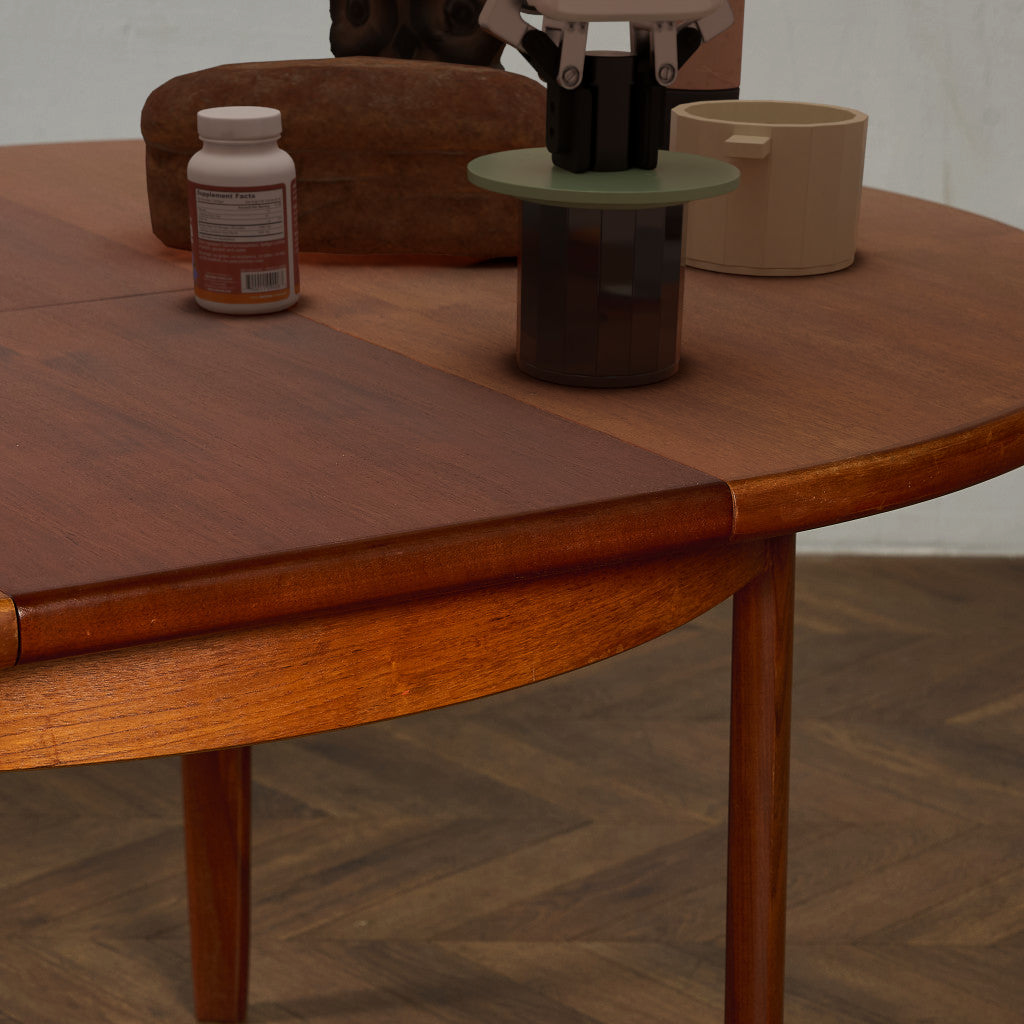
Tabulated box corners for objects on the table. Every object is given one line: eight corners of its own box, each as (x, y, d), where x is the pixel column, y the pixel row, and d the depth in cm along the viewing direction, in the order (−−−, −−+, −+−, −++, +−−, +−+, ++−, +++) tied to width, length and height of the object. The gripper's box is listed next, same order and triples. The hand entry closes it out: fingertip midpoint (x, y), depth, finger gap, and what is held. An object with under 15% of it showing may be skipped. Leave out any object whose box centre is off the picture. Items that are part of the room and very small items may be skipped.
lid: (760, 179, 86) (769, 47, 84) (708, 226, 74) (718, 74, 71) (514, 162, 90) (516, 35, 87) (427, 205, 78) (427, 59, 75)
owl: (525, 196, 129) (530, -72, 122) (380, 209, 123) (375, -72, 116) (453, 172, 139) (454, -77, 132) (316, 182, 134) (308, -77, 126)
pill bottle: (230, 287, 100) (221, 101, 96) (319, 297, 98) (314, 108, 93) (173, 309, 94) (161, 114, 90) (266, 321, 92) (258, 121, 88)
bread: (172, 223, 118) (161, 47, 113) (563, 229, 118) (567, 53, 113) (129, 265, 105) (115, 69, 100) (568, 272, 105) (573, 76, 100)
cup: (708, 362, 86) (719, 190, 83) (618, 398, 80) (625, 214, 76) (579, 334, 91) (584, 171, 87) (484, 366, 84) (486, 192, 81)
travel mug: (639, 202, 128) (651, -69, 121) (636, 184, 135) (647, -72, 128) (737, 204, 128) (755, -67, 120) (728, 186, 135) (745, -70, 128)
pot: (868, 236, 117) (881, 101, 113) (835, 292, 101) (849, 136, 97) (695, 223, 120) (702, 91, 117) (637, 275, 104) (643, 124, 101)
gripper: (481, -251, 69) (477, 188, 75) (816, -235, 74) (785, 171, 81) (422, -241, 75) (423, 162, 82) (735, -227, 81) (712, 148, 87)
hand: (604, 163), depth 81 cm, fingers closed on lid, 3 cm apart
